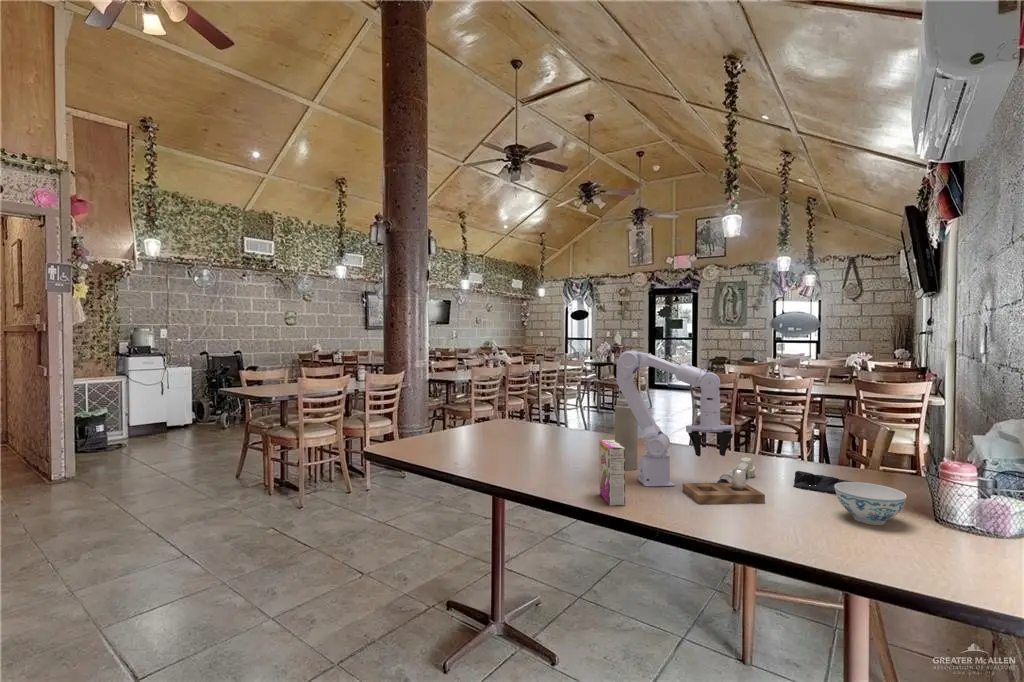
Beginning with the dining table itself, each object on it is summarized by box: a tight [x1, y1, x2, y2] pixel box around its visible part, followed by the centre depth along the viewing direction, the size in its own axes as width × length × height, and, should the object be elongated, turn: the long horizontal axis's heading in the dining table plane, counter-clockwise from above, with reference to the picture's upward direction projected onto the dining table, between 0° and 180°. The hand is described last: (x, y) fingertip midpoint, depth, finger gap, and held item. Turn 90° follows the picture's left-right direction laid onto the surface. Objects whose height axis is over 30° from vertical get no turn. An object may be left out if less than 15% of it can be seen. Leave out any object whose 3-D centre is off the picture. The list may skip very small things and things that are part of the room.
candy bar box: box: [598, 439, 626, 507], centre depth 144 cm, size 11×5×16 cm, turn 4°
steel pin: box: [731, 467, 747, 491], centre depth 147 cm, size 4×4×8 cm
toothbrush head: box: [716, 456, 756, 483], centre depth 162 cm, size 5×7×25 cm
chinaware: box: [834, 481, 907, 526], centre depth 128 cm, size 15×15×8 cm
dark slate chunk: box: [793, 470, 853, 495], centre depth 154 cm, size 15×22×5 cm
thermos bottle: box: [614, 390, 638, 471], centre depth 181 cm, size 8×8×28 cm
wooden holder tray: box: [681, 482, 766, 505], centre depth 146 cm, size 19×12×2 cm, turn 92°
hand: (710, 455), depth 154 cm, fingers open, 7 cm apart
